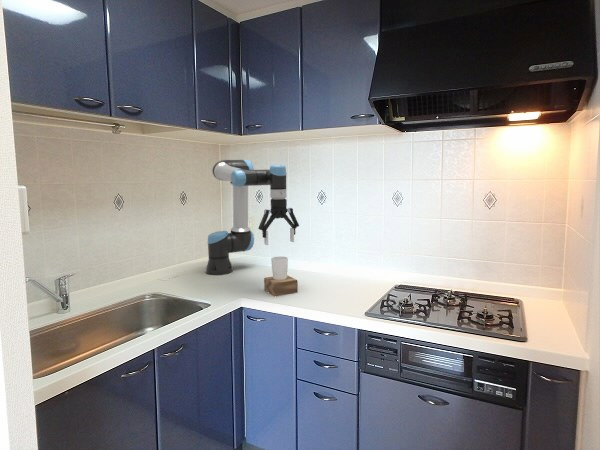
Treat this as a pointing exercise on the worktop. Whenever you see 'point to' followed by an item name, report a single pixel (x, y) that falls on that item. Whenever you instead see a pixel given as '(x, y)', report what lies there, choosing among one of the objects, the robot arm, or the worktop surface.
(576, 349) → the worktop surface
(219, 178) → the robot arm
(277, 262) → the white cup
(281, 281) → the walnut box
